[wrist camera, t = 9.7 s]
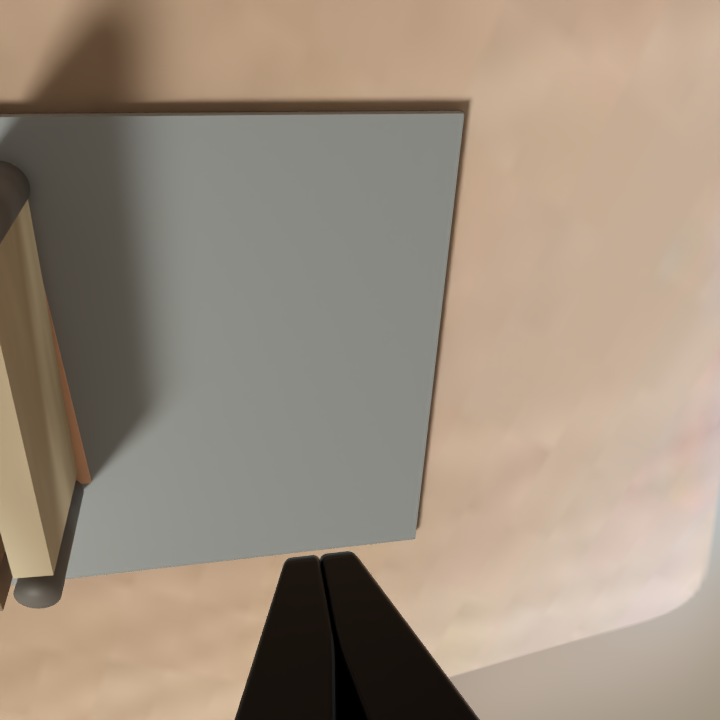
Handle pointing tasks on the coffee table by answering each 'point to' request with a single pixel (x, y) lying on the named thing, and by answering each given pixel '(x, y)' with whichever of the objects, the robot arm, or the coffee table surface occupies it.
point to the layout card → (241, 323)
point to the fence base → (4, 575)
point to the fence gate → (31, 414)
